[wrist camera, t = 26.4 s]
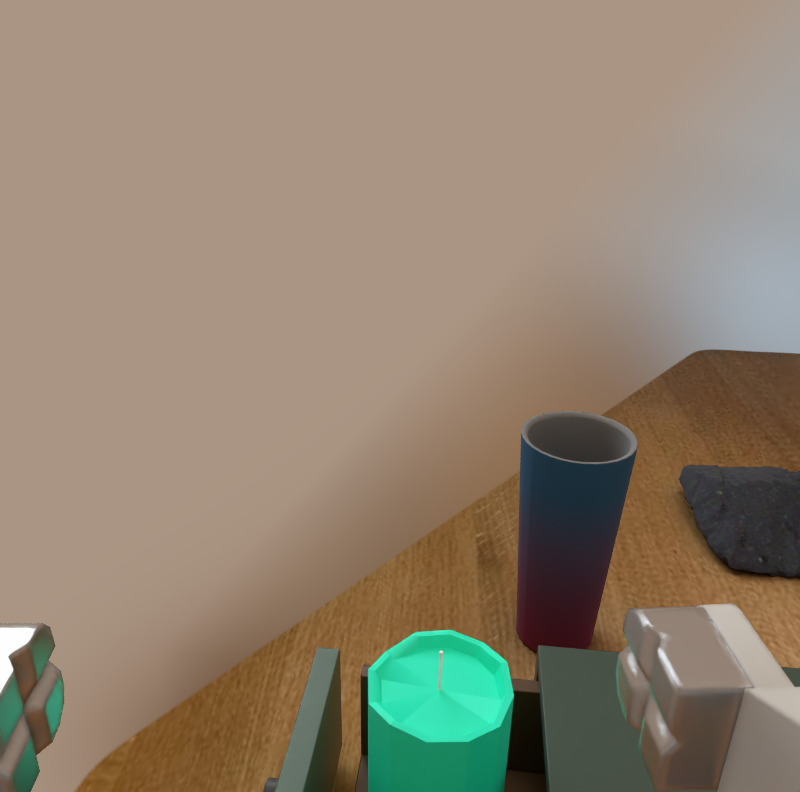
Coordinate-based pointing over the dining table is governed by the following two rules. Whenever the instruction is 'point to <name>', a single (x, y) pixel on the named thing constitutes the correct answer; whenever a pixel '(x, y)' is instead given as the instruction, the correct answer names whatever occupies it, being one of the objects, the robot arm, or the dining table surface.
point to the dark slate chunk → (748, 515)
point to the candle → (439, 716)
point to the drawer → (322, 735)
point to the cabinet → (590, 724)
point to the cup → (568, 522)
